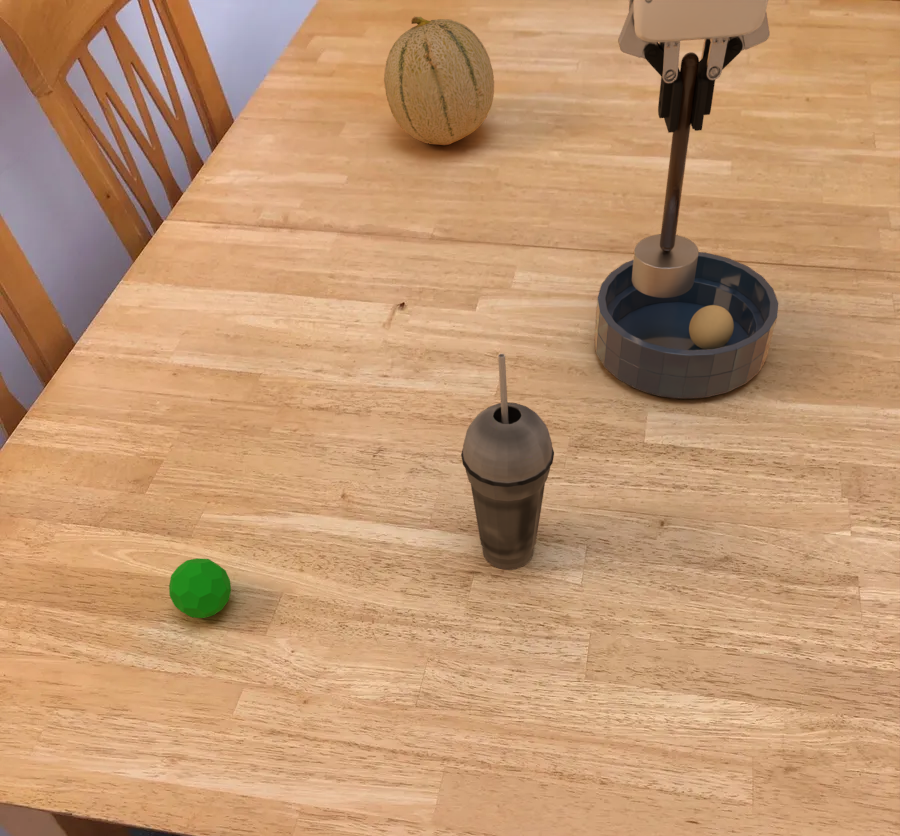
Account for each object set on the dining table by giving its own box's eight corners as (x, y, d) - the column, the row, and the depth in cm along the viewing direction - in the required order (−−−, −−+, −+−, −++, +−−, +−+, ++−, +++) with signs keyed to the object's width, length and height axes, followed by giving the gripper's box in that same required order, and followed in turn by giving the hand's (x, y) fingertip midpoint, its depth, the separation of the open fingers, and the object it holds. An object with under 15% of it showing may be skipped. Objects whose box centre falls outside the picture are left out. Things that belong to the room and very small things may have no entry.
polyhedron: (248, 602, 79) (235, 566, 75) (203, 638, 77) (187, 603, 73) (211, 574, 81) (196, 538, 78) (167, 608, 79) (149, 572, 76)
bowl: (746, 296, 102) (757, 246, 97) (782, 400, 91) (796, 350, 87) (586, 304, 103) (590, 255, 98) (603, 408, 92) (607, 359, 87)
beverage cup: (481, 591, 79) (473, 408, 63) (456, 531, 83) (443, 346, 67) (561, 569, 80) (573, 384, 64) (533, 511, 84) (538, 324, 68)
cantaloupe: (488, 166, 123) (485, 44, 111) (380, 163, 125) (366, 43, 113) (501, 114, 132) (500, -5, 120) (401, 112, 134) (390, -5, 122)
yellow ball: (737, 300, 94) (747, 336, 93) (708, 327, 98) (718, 361, 96) (703, 292, 92) (713, 328, 91) (676, 319, 96) (685, 354, 94)
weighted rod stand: (692, 263, 92) (727, 36, 76) (695, 298, 88) (732, 68, 72) (631, 263, 93) (652, 38, 77) (631, 298, 89) (653, 70, 73)
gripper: (816, -170, 66) (765, 97, 81) (597, -151, 67) (586, 110, 81) (844, -140, 62) (785, 139, 76) (609, -119, 62) (594, 152, 77)
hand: (682, 122), depth 79 cm, fingers closed on weighted rod stand, 1 cm apart
